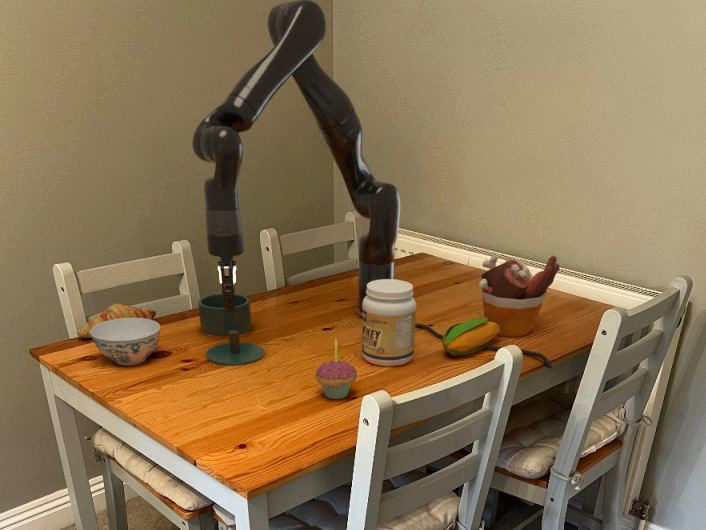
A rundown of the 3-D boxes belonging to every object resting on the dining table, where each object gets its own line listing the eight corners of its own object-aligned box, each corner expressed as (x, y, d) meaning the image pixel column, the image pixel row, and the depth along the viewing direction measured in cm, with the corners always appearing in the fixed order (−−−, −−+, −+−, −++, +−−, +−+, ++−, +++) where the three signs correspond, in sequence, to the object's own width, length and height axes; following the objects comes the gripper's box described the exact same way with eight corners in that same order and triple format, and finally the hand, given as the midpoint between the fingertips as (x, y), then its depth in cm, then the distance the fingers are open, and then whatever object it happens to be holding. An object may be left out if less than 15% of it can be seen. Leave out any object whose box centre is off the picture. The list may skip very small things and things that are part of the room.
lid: (275, 353, 175) (274, 328, 172) (242, 372, 165) (240, 346, 162) (229, 343, 180) (227, 318, 177) (194, 361, 170) (191, 335, 167)
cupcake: (315, 387, 159) (314, 332, 152) (355, 386, 159) (355, 331, 153) (317, 403, 151) (315, 347, 145) (358, 402, 152) (358, 346, 146)
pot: (261, 327, 190) (259, 298, 186) (231, 341, 181) (229, 311, 177) (221, 319, 195) (219, 290, 191) (191, 333, 186) (188, 303, 182)
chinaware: (129, 379, 161) (123, 345, 156) (82, 364, 167) (75, 331, 163) (178, 358, 171) (174, 325, 167) (132, 345, 178) (127, 313, 174)
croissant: (88, 357, 180) (89, 333, 174) (66, 329, 183) (66, 304, 176) (163, 334, 193) (167, 311, 186) (141, 309, 195) (145, 285, 189)
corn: (435, 324, 171) (488, 305, 183) (431, 355, 175) (483, 335, 187) (460, 334, 167) (512, 314, 179) (455, 365, 171) (507, 344, 183)
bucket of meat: (461, 331, 190) (467, 251, 179) (489, 314, 201) (497, 238, 190) (534, 348, 180) (545, 264, 170) (559, 329, 192) (572, 250, 181)
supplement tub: (351, 355, 174) (351, 283, 165) (391, 345, 181) (393, 274, 171) (383, 372, 166) (385, 296, 157) (424, 360, 172) (428, 287, 163)
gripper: (242, 237, 152) (247, 315, 161) (242, 223, 164) (247, 296, 173) (205, 238, 151) (212, 316, 160) (207, 223, 163) (214, 297, 172)
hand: (230, 306), depth 166 cm, fingers open, 8 cm apart
